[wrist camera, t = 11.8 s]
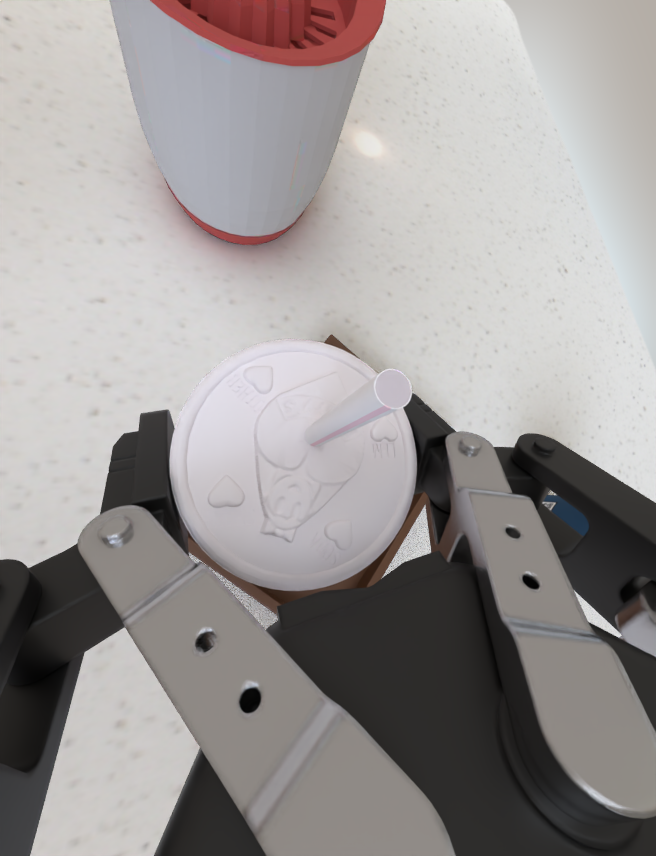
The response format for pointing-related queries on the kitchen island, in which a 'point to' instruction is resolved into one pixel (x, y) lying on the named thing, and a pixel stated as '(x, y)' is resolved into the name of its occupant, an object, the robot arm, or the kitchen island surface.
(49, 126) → the kitchen island surface
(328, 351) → the smoothie
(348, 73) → the citrus juicer
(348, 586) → the tray
